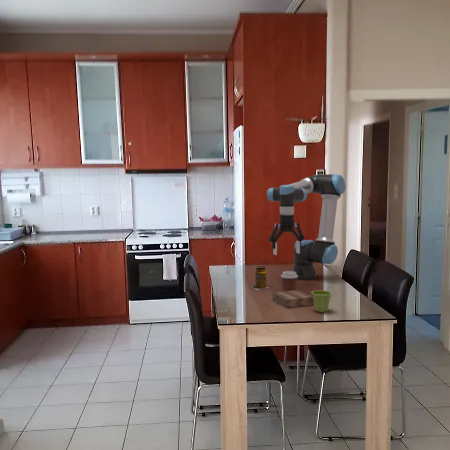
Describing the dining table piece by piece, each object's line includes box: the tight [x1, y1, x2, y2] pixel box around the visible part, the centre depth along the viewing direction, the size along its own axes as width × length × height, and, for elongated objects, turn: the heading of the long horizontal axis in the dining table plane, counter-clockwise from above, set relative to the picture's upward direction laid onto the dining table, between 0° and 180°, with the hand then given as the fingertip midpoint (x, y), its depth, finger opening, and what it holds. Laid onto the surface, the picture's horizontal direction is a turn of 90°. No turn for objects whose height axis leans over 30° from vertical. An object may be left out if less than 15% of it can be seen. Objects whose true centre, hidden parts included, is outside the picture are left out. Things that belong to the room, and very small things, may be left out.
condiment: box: [250, 265, 270, 291], centre depth 261 cm, size 7×8×12 cm
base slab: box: [272, 289, 314, 309], centre depth 230 cm, size 15×15×4 cm
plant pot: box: [311, 289, 332, 313], centre depth 216 cm, size 9×9×9 cm
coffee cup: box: [280, 270, 298, 292], centre depth 246 cm, size 9×9×12 cm
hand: (286, 253), depth 245 cm, fingers open, 13 cm apart
